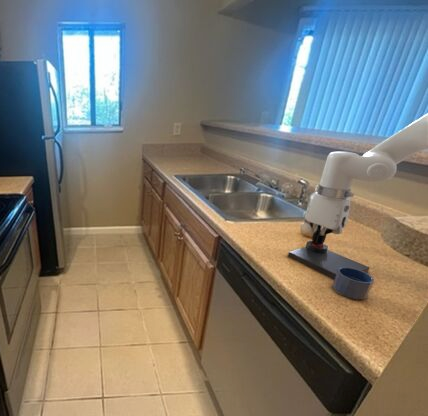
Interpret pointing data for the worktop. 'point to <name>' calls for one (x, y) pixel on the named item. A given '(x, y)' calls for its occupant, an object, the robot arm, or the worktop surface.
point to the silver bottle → (305, 227)
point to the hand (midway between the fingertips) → (316, 243)
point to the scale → (324, 260)
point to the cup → (352, 283)
